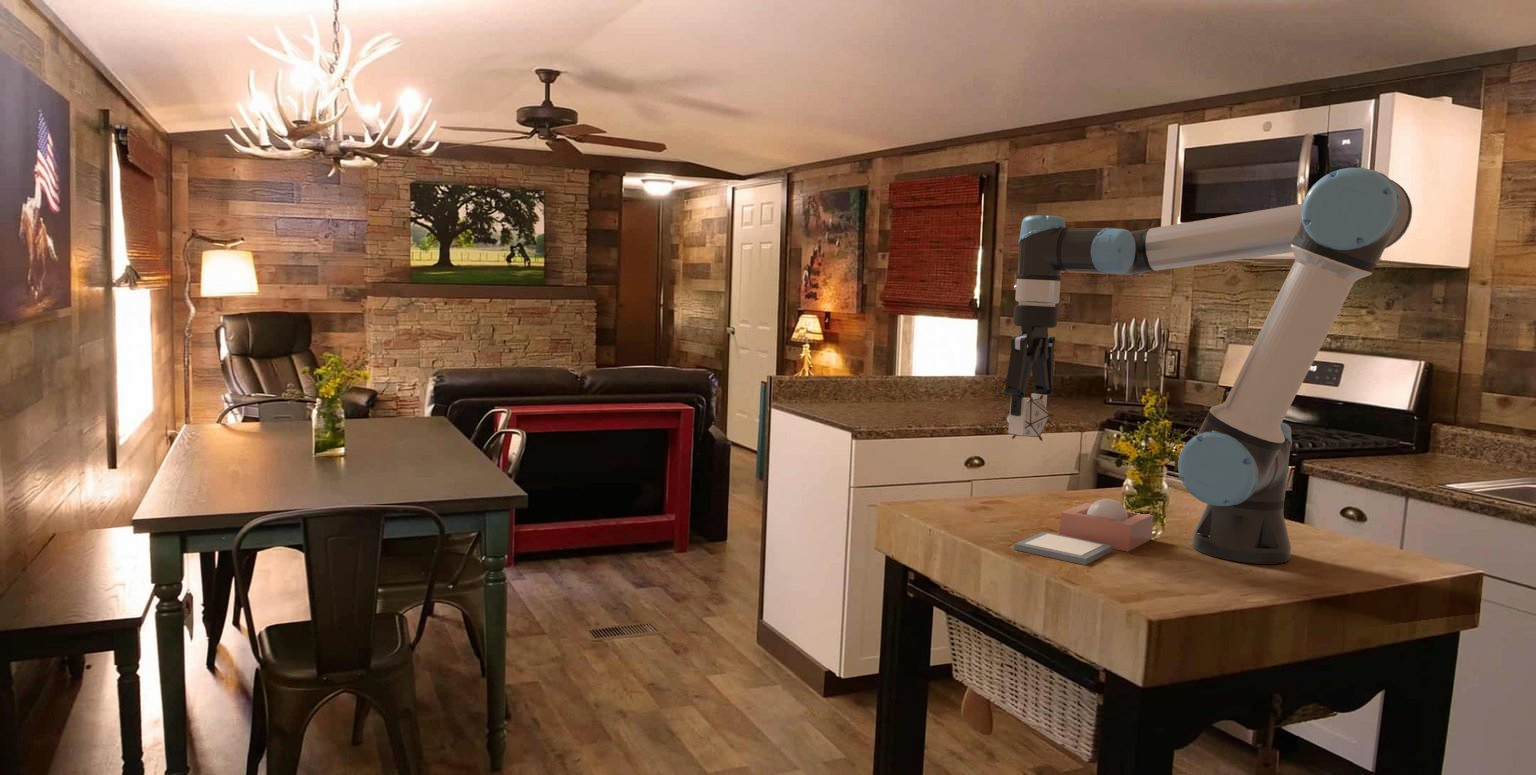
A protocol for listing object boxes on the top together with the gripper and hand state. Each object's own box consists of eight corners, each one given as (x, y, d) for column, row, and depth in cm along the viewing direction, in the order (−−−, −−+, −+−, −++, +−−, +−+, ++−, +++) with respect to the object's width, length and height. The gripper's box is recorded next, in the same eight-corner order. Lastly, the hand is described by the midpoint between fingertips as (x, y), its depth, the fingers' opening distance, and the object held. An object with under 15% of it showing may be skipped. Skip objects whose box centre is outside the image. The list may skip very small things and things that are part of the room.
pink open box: (1151, 539, 184) (1153, 514, 184) (1128, 551, 175) (1130, 525, 174) (1084, 526, 191) (1086, 502, 191) (1059, 537, 182) (1061, 512, 181)
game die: (1029, 458, 189) (1060, 414, 191) (1037, 448, 181) (1069, 402, 183) (987, 430, 191) (1018, 387, 193) (993, 419, 183) (1025, 374, 185)
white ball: (1132, 539, 184) (1135, 500, 183) (1118, 546, 178) (1122, 505, 177) (1093, 531, 188) (1096, 493, 187) (1078, 538, 182) (1081, 498, 181)
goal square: (1112, 551, 174) (1112, 545, 174) (1085, 565, 165) (1085, 558, 165) (1043, 537, 181) (1044, 531, 181) (1014, 549, 172) (1014, 543, 172)
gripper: (1040, 303, 195) (1030, 424, 198) (990, 302, 179) (981, 434, 181) (1079, 306, 191) (1069, 429, 193) (1032, 305, 174) (1021, 440, 177)
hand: (1026, 431), depth 187 cm, fingers closed on game die, 8 cm apart
